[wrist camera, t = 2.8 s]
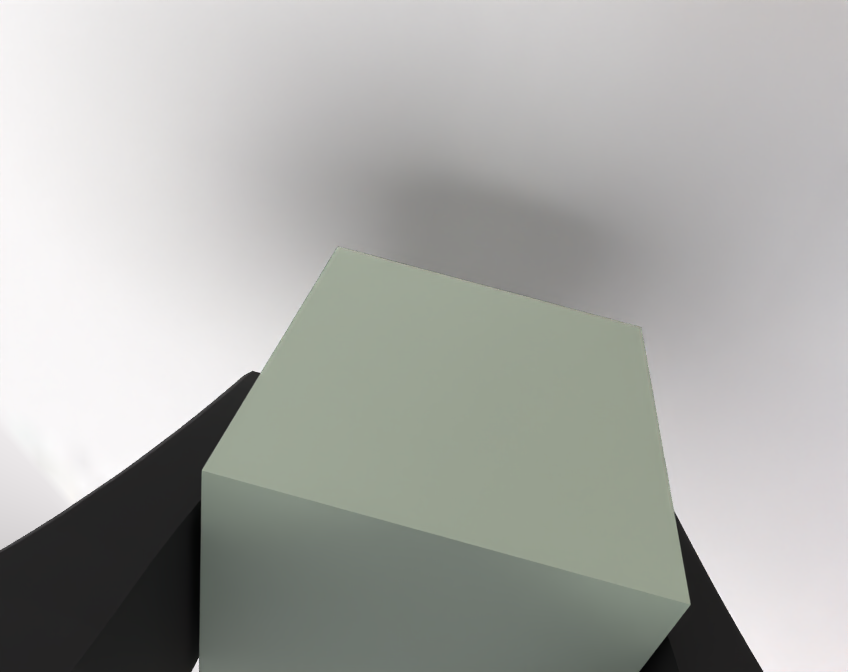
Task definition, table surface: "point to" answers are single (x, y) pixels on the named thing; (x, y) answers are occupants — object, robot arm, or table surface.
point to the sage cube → (440, 489)
